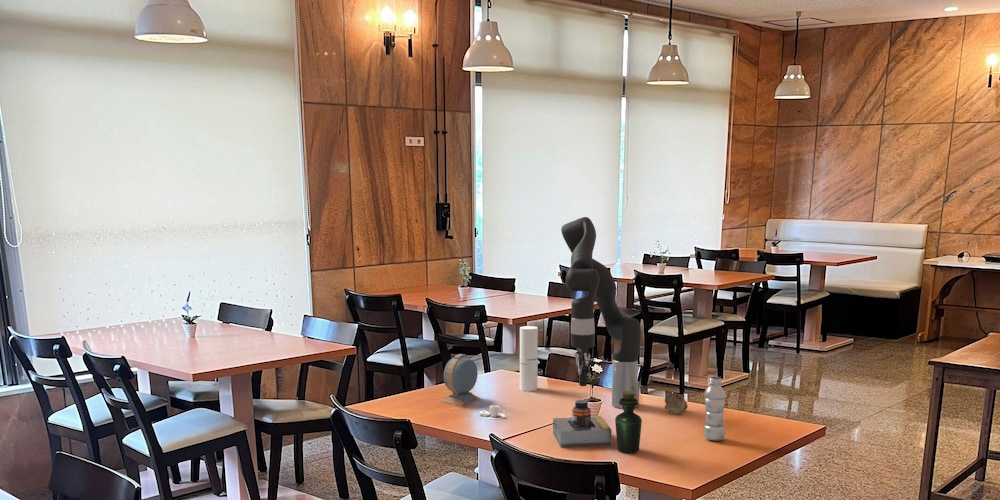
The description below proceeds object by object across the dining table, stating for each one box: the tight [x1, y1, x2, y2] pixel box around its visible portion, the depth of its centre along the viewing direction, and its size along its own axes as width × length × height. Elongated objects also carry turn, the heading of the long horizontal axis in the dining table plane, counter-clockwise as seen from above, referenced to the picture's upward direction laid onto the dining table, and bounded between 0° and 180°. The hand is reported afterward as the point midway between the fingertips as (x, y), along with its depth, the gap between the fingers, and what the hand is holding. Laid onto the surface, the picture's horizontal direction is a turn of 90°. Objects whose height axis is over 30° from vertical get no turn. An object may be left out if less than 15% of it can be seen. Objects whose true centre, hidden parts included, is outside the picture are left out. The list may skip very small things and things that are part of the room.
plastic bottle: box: [703, 376, 726, 442], centre depth 244 cm, size 6×7×20 cm
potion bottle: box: [614, 391, 643, 455], centre depth 234 cm, size 8×8×18 cm
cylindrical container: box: [519, 325, 539, 392], centre depth 308 cm, size 7×7×25 cm
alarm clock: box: [440, 353, 481, 406], centre depth 292 cm, size 14×10×18 cm
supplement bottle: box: [571, 399, 592, 428], centre depth 245 cm, size 6×6×11 cm
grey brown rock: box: [664, 392, 689, 415], centre depth 276 cm, size 9×7×8 cm
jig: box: [552, 415, 613, 448], centre depth 245 cm, size 16×14×6 cm
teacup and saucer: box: [479, 404, 506, 421], centre depth 272 cm, size 9×8×4 cm
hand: (582, 385), depth 244 cm, fingers closed
